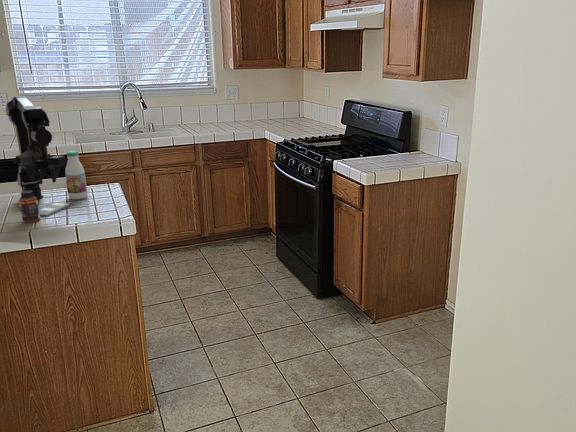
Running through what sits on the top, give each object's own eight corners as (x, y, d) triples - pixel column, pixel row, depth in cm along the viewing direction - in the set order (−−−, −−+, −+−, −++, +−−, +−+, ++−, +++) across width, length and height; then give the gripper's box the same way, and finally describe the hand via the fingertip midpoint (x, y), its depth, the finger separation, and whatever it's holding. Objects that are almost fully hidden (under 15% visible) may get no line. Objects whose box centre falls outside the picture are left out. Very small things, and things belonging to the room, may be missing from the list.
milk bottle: (68, 196, 222) (62, 150, 216) (87, 194, 225) (81, 149, 219) (68, 200, 215) (62, 153, 209) (88, 198, 218) (82, 152, 212)
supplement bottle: (43, 219, 191) (39, 190, 188) (32, 224, 185) (28, 194, 182) (30, 217, 192) (25, 188, 189) (18, 222, 187) (13, 192, 183)
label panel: (24, 214, 196) (23, 212, 196) (51, 203, 211) (51, 201, 211) (46, 216, 194) (46, 214, 194) (72, 205, 209) (72, 203, 208)
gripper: (0, 144, 186) (7, 185, 191) (45, 146, 182) (51, 188, 187) (22, 139, 197) (28, 178, 201) (64, 141, 193) (69, 181, 197)
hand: (43, 181), depth 197 cm, fingers open, 9 cm apart
